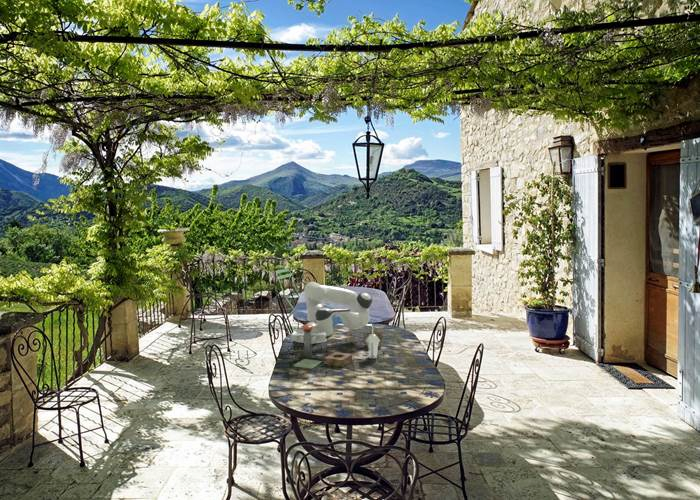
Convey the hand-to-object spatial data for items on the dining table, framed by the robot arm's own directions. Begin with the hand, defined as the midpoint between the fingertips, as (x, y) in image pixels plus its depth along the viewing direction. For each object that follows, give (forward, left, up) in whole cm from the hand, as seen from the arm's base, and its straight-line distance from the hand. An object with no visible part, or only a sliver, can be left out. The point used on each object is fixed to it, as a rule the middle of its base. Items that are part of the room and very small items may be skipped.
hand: (307, 340), depth 300 cm
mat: (-1, +1, -15) cm, 15 cm away
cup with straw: (+28, +27, -15) cm, 42 cm away
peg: (0, +1, -10) cm, 10 cm away
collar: (+14, +10, -15) cm, 23 cm away
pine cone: (+15, +47, -15) cm, 52 cm away
